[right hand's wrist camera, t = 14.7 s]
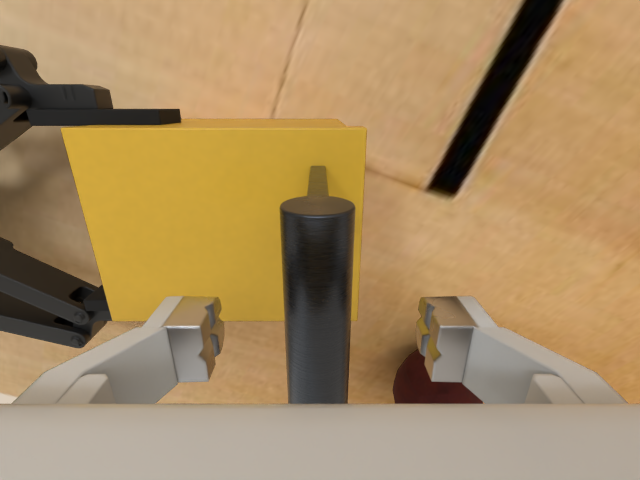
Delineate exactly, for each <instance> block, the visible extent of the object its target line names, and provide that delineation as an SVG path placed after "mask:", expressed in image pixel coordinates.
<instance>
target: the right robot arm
mask: <svg viewBox="0 0 640 480" xmlns="http://www.w3.org/2000/svg"><path fill="white" fill-rule="evenodd" d="M221 310H222V307H221V301H220V299H219V297H202V296H168V297H166V298H165V299H164V300H163V301H162V303H161V304H160V305H159V306H158V307H157V309H156V310H155V311H154V312H153V314H152V315H151V316H150V317H149V319H148V320H147V321H146V322H145V323H144V325H143V326H142V327H136V328H134V329H131V330H129V331H127V332H125V333H123V334H121V335H119V336H117V337H115V338H113V339H111V340H109V341H107V342H105V343H103V344H101V345H99V346H97V347H95V348H93V349H91V350H89V351H87V352H85V353H82V354H80V355H78V356H76V357H74V358H72V359H70V360H68V361H66V362H64V363H62V364H60V365H58V366H56V367H54V368H52V369H50V370H48V371H46V372H44V373H43V374H42V375H41V376H40V377H39V378H38V379H36V380H35V381H34V382H33V383H32V384H31V385H30V386H29V387H28V388H27V389H26V390H25V391H24V392H23V393H22V394H21V395H20V396H19V397H18V398H17V399H16V400H15V401H14V402H13V403H12V404H0V480H640V404H628V403H627V402H626V401H625V400H624V399H623V398H622V397H621V396H620V395H619V394H618V393H617V392H616V391H615V390H614V389H613V388H612V387H611V386H610V385H609V384H608V383H607V382H606V381H605V380H604V379H603V378H602V377H601V376H600V375H599V374H598V373H596V372H594V371H592V370H590V369H588V368H586V367H584V366H582V365H580V364H578V363H576V362H574V361H572V360H570V359H568V358H566V357H564V356H562V355H559V354H557V353H555V352H553V351H551V350H549V349H547V348H545V347H543V346H541V345H539V344H537V343H535V342H533V341H531V340H529V339H527V338H525V337H523V336H521V335H519V334H517V333H515V332H513V331H511V330H509V329H507V328H504V327H498V326H497V325H496V323H495V322H494V321H493V320H492V319H491V317H490V316H489V315H488V314H487V312H486V311H485V310H484V309H483V307H482V306H481V305H480V304H479V303H478V301H477V300H476V299H475V298H474V297H472V296H451V297H421V299H420V301H419V307H418V310H419V312H420V314H421V318H420V319H419V320H418V321H417V323H416V342H417V346H418V349H419V352H420V354H422V355H423V356H424V357H425V367H426V369H427V372H428V374H429V376H430V379H431V381H432V382H462V384H463V385H464V386H465V387H467V388H468V389H469V390H470V391H471V392H472V393H473V394H475V395H476V396H477V397H478V398H479V399H480V400H482V401H483V402H484V403H485V404H155V403H156V402H157V401H159V400H160V399H161V398H162V397H163V396H164V395H166V394H167V393H168V392H169V391H170V390H171V389H172V388H174V387H175V386H176V385H177V384H178V383H177V382H208V381H209V379H210V377H211V374H212V372H213V369H214V367H215V357H216V356H217V355H218V354H220V352H221V349H222V347H223V341H224V322H223V321H222V320H221V319H220V318H219V315H220V312H221Z"/></svg>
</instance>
